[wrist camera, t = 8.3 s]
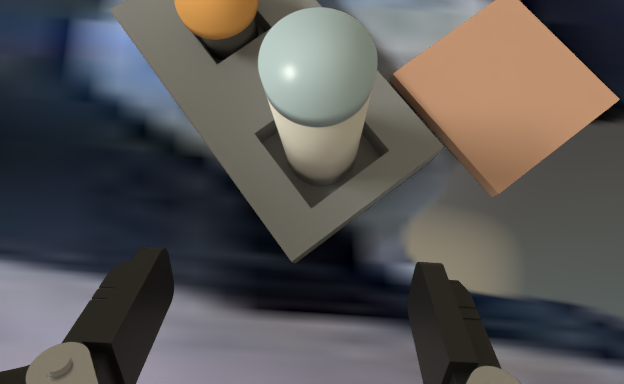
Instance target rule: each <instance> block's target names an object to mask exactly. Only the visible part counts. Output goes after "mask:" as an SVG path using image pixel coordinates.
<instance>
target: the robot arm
mask: <svg viewBox="0 0 624 384" xmlns="http://www.w3.org/2000/svg"><path fill="white" fill-rule="evenodd" d="M173 294H174V280H173V275H172V270H171V264H170V259H169V254H168V250H167V249H166V248H154V247H141V248H140V249H139V250H138V251H137V253H136V255H135V256H134V258H133V259H132V261H131V263H129V262H122V263H121V264H119V265H118V266H117V267H116V268H114V269H113V270H112V271H110V272H109V273H108V274H107V276H106V277H105V279H104V280H103V282H102V283H101V285H100V286H99V289H97V291H96V292H95V294H94V295H93V297H92V300H90V301H89V303H88V304H87V306H86V307H85V309H84V310H83V312H82V313H81V315H80V316H79V318H78V319H77V321H76V322H75V324H74V325H73V327H72V328H71V330H70V331H69V333H68V334H67V336H66V337H65V339H64V340H63V342H62V343H61V344H58V345H55V346H53V347H51V348H49V349H47V350H46V351H44V352H43V353H41V354H40V355H39V356H38V357H37V358H36V359H35V360H34V361H33V362H32V363H31V365H28V366H24V367H21V368H16V369H12V370H7V371H2V372H0V384H136V382H137V380H138V377H139V375H140V373H141V371H142V368H143V366H144V364H145V361H146V359H147V357H148V354H149V352H150V350H151V348H152V345H153V343H154V341H155V338H156V336H157V334H158V332H159V329H160V327H161V325H162V322H163V320H164V318H165V315H166V313H167V311H168V309H169V306H170V304H171V301H172V298H173ZM408 316H409V320H410V325H411V329H412V334H413V338H414V343H415V347H416V352H417V356H418V361H419V365H420V370H421V374H422V379H423V384H520V382H519V381H518V380H517V379H516V378H515V377H513V376H512V375H511V374H509V373H508V372H506V371H504V370H502V368H501V366H500V364H499V362H498V360H497V357H496V355H495V352H494V350H493V347H492V345H491V343H490V340H489V338H488V335H487V333H486V330H485V328H484V326H483V323H482V322H481V318H480V316H479V314H478V311H477V310H476V306H475V304H474V301H473V299H472V297H471V294H470V293H469V292H468V290H467V289H466V288H465V287H464V286H463V285H462V284H461V283H460V282H459V281H456V280H449V279H448V277H447V274H446V272H445V268H444V266H443V265H442V264H441V263H428V262H417V264H416V266H415V270H414V274H413V278H412V282H411V286H410V290H409V294H408Z"/></svg>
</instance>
